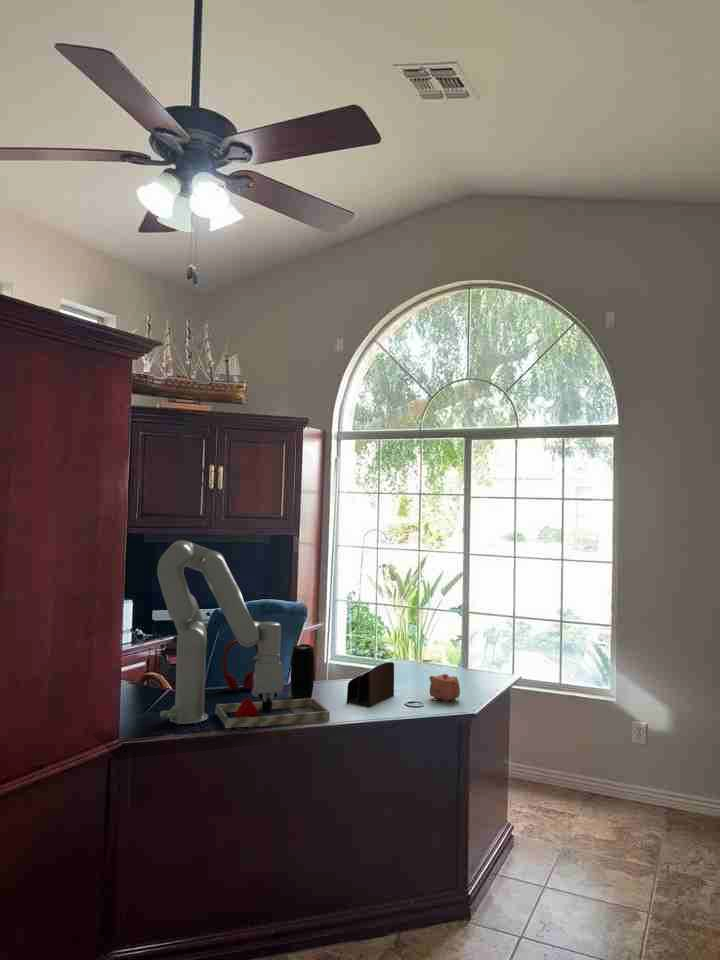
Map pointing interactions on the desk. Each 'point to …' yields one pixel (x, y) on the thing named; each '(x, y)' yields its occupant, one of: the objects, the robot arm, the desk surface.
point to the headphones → (229, 677)
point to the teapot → (444, 687)
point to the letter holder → (372, 686)
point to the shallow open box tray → (299, 707)
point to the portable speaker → (302, 671)
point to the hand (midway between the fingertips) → (266, 712)
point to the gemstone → (246, 709)
